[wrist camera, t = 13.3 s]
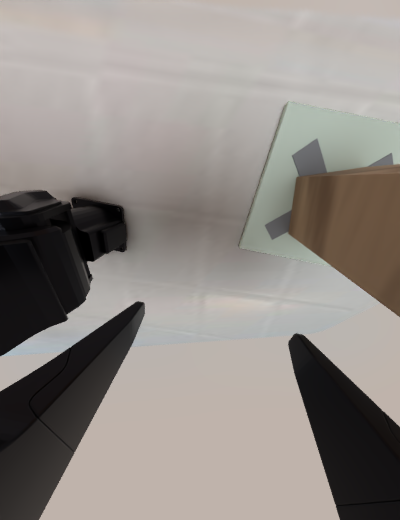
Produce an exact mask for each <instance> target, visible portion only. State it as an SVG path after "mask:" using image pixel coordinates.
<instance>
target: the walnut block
mask: <svg viewBox="0 0 400 520" xmlns="http://www.w3.org/2000/svg"><path fill="white" fill-rule="evenodd" d="M288 234H289V235H291V236H292V237H293V238H295V239H296V240H297V241H299V242H300V243H301V244H303V245H304V246H305V247H307V248H308V249H309V250H311V251H312V252H313V253H315V254H316V255H317V256H319V257H320V258H321V259H323V260H324V261H325V262H327V263H328V264H330V265H331V266H332V267H334V268H335V269H336V270H338V271H339V272H340V273H342V274H343V275H344V276H346V277H347V278H348V279H350V280H351V281H352V282H354V283H355V284H356V285H358V286H359V287H360V288H362V289H363V290H364V291H366V292H367V293H368V294H370V295H371V296H372V297H374V298H375V299H376V300H378V301H379V302H380V303H382V304H383V305H384V306H386V307H387V308H388V309H390V310H391V311H392V312H394V313H395V314H396V315H398V316H399V317H400V164H395V165H383V166H372V167H362V168H355V169H348V170H341V171H334V172H328V173H321V174H314V175H307V176H300V177H297V178H296V184H295V191H294V198H293V205H292V212H291V219H290V225H289V232H288Z"/></svg>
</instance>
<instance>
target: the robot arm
mask: <svg viewBox="0 0 400 520" xmlns="http://www.w3.org/2000/svg"><path fill="white" fill-rule="evenodd" d="M71 201H72V205H73V208H71V205H70V202H64V201H59V200H56V198H54V197H52V196H51V195H50V194H49V193H48V192H47V191H43V190H33V191H19V192H13V193H10V194H6V195H3V196H0V356H2V355H4V354H5V353H7V352H9V351H10V350H12V349H13V348H15V347H16V346H18V345H19V344H21V343H22V342H24V341H25V340H27V339H28V338H30V337H32V336H33V335H35V334H37V333H39V332H41V331H43V330H45V329H47V328H49V327H51V326H54V325H56V324H59V323H62V322H65V321H67V320H68V317H67V315H66V314H68V313H70V312H71V311H73V310H74V309H76V308H77V307H79V306H80V305H81V304H82V303H83V302H84V301H85V300H86V296H87V294H88V292H89V290H90V283H91V281H92V279H93V278H92V275H91V274H90V271H89V268H88V265H87V261H91V262H94V261H95V260H97V259H98V258H100V257H101V256H103V255H104V254H108V253H110V252H111V251H113V250H115V251H120V252H124V251H125V250H126V241H127V239H126V226H125V223H124V212H123V208H122V207H121V206H119V205H114V204H109V203H104V202H99V201H94V200H89V199H84V198H79V197H73V198H72V199H71ZM76 201H77V202H76ZM118 209H119V210H120V212H119V211H118ZM121 247H122V248H123V249H122V248H121ZM144 314H145V304H144V303H143V302H139V301H138V302H136V303H134V304H133V305H131V306H130V307H128V308H127V309H125V310H124V311H122V312H121V313H120V314H118V315H117V316H115V317H114V318H112V319H111V320H109V321H108V322H106V323H105V324H104V325H102V326H101V327H99V328H98V329H96V330H95V331H93V332H92V333H90V334H89V335H88V336H86V337H85V338H83V339H82V340H80V341H79V342H77V343H76V344H74V345H73V346H72V347H71V348H69V349H67V350H66V351H64V352H63V353H61V354H60V355H58V356H57V357H56V358H54V359H52V360H51V361H49V362H48V363H47V364H45V365H43V366H42V367H40V368H38V369H37V370H35V371H33V372H32V373H30V374H29V375H27V376H26V377H24V378H22V379H21V380H19V381H17V382H15V383H14V384H12V385H10V386H9V387H7V388H5V389H4V390H2V391H0V520H39V518H40V517H41V515H42V513H43V511H44V509H45V507H46V505H47V503H48V502H49V500H50V498H51V496H52V494H53V492H54V490H55V488H56V487H57V485H58V483H59V481H60V479H61V477H62V475H63V473H64V472H65V470H66V468H67V466H68V464H69V462H70V460H71V458H72V456H73V454H74V452H75V451H76V449H77V447H78V445H79V443H80V441H81V439H82V437H83V436H84V433H85V432H86V430H87V428H88V426H89V424H90V422H91V421H92V419H93V417H94V415H95V413H96V411H97V409H98V407H99V406H100V404H101V402H102V400H103V398H104V396H105V394H106V392H107V390H108V389H109V387H110V385H111V383H112V381H113V379H114V377H115V375H116V374H117V372H118V370H119V368H120V366H121V364H122V362H123V360H124V359H125V356H126V355H127V353H128V351H129V349H130V347H131V345H132V343H133V341H134V339H135V337H136V334H137V332H138V329H139V327H140V324H141V322H142V319H143V317H144ZM288 345H289V350H290V354H291V360H292V364H293V369H294V373H295V376H296V380H297V383H298V386H299V389H300V393H301V396H302V399H303V402H304V406H305V409H306V412H307V415H308V418H309V422H310V425H311V428H312V431H313V434H314V438H315V441H316V444H317V447H318V450H319V454H320V457H321V460H322V463H323V466H324V469H325V473H326V476H327V479H328V482H329V486H330V489H331V492H332V495H333V498H334V502H335V504H336V508H337V512H338V515H339V518H340V520H400V427H399V426H398V425H397V424H396V423H395V422H394V421H393V420H392V419H391V418H390V417H389V416H388V415H387V414H386V413H385V412H383V411H382V410H381V409H380V408H379V407H378V406H377V405H376V404H375V403H374V402H373V401H372V400H371V399H370V398H369V397H368V396H367V395H366V394H365V393H363V391H362V390H360V389H359V388H358V387H357V386H356V385H355V384H354V383H353V382H352V381H351V380H350V379H349V378H348V377H347V376H346V375H345V374H344V373H343V372H342V371H341V370H340V369H339V368H337V367H336V366H335V365H334V364H333V363H332V362H331V361H330V360H329V359H328V358H327V357H326V356H325V355H324V354H323V353H322V352H321V351H320V350H319V349H318V348H316V346H314V345H313V344H312V343H311V342H310V341H309V340H308V339H307V338H306V337H305V336H304V335H302V334H297V333H296V334H294V335H293V337H292V338H291V340H289V344H288Z"/></svg>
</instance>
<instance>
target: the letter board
mask: <svg viewBox="0 0 400 520" xmlns="http://www.w3.org/2000/svg"><path fill="white" fill-rule="evenodd" d="M395 164H400V123H396V122H391V121H385V120H380V119H375V118H370V117H365V116H360V115H355V114H350V113H345V112H340V111H335V110H330V109H325V108H320V107H315V106H310V105H305V104H300V103H295V102H290V101H289V102H288V103H287V104H286V105H285V107H284V110H283V113H282V116H281V119H280V122H279V125H278V128H277V131H276V134H275V137H274V140H273V143H272V146H271V149H270V152H269V155H268V158H267V161H266V164H265V167H264V170H263V173H262V176H261V179H260V182H259V185H258V189H257V192H256V195H255V198H254V201H253V204H252V207H251V210H250V213H249V216H248V219H247V222H246V225H245V228H244V231H243V234H242V237H241V240H240V243H239V248H240V249H245V250H250V251H255V252H260V253H265V254H270V255H275V256H280V257H285V258H290V259H295V260H300V261H305V262H310V263H315V264H320V265H325V266H330V267H332V266H331V265H330V264H328V263H327V262H325V261H324V260H323V259H321V258H320V257H319V256H317V255H316V254H315V253H313V252H312V251H311V250H309V249H308V248H307V247H305V246H304V245H303V244H301V243H300V242H299V241H297V240H296V239H295V238H293V237H292V236H291V235H289V234H288V232H289V225H290V219H291V212H292V205H293V198H294V191H295V184H296V178H297V177H300V176H307V175H314V174H321V173H328V172H334V171H341V170H348V169H355V168H362V167H372V166H383V165H395Z"/></svg>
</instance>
